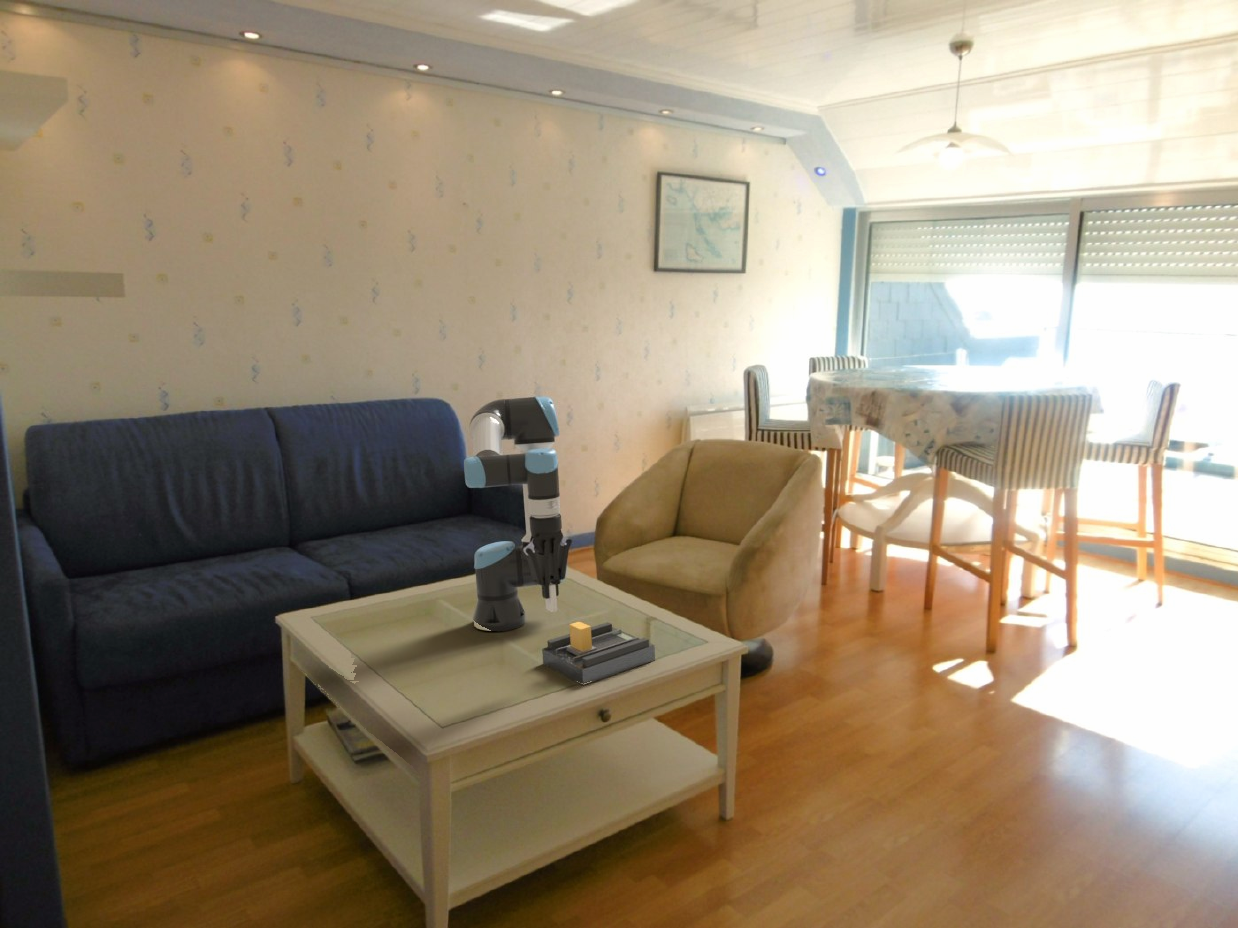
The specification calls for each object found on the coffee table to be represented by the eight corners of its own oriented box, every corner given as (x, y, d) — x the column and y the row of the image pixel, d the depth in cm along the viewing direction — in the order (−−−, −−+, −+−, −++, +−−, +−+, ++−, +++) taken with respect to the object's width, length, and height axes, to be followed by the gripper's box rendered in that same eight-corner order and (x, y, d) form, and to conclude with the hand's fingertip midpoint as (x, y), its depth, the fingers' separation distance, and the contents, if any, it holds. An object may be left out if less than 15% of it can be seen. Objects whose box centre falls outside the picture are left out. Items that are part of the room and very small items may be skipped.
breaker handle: (566, 650, 219) (564, 624, 218) (583, 645, 222) (581, 619, 221) (580, 657, 214) (578, 631, 213) (596, 651, 217) (595, 625, 216)
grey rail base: (543, 663, 223) (541, 644, 222) (612, 641, 235) (611, 623, 235) (583, 685, 208) (582, 665, 207) (655, 660, 221) (654, 641, 220)
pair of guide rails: (547, 647, 223) (547, 640, 222) (608, 628, 234) (607, 622, 233) (586, 667, 209) (586, 660, 208) (649, 646, 220) (648, 639, 220)
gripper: (529, 521, 201) (536, 620, 204) (576, 512, 208) (582, 607, 212) (513, 516, 207) (520, 612, 210) (559, 507, 214) (565, 600, 218)
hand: (551, 609), depth 211 cm, fingers closed
